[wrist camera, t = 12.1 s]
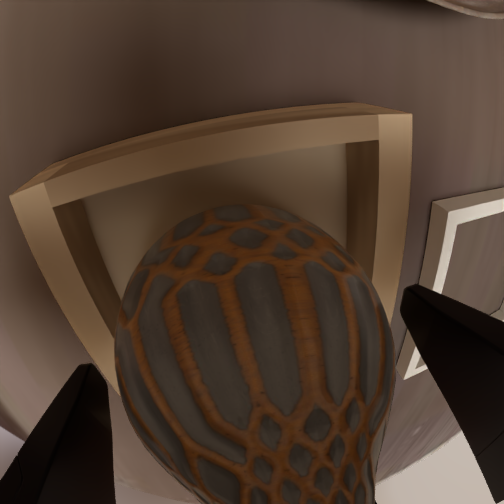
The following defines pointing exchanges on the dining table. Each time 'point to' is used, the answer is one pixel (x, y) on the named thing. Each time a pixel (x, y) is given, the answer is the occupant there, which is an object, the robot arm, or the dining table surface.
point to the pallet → (216, 199)
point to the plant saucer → (475, 7)
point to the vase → (256, 360)
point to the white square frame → (446, 256)
